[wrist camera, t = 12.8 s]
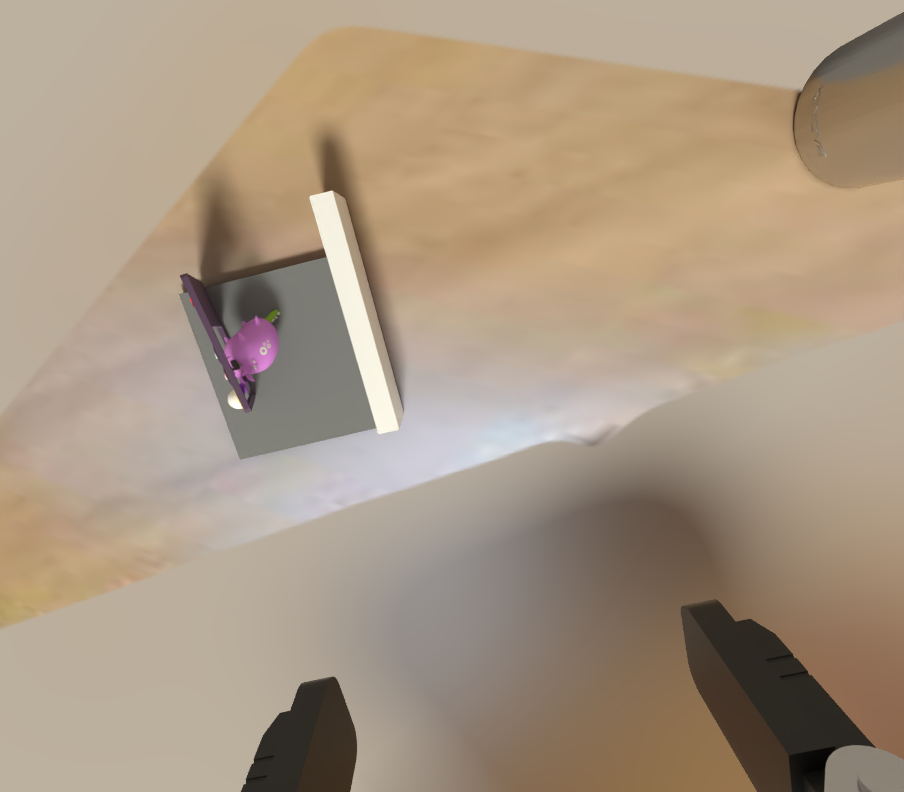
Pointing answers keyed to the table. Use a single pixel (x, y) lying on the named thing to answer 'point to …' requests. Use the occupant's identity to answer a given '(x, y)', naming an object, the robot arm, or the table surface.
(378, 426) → the low wall
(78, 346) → the table surface
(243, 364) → the purple framed toy figure
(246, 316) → the rubber mat
